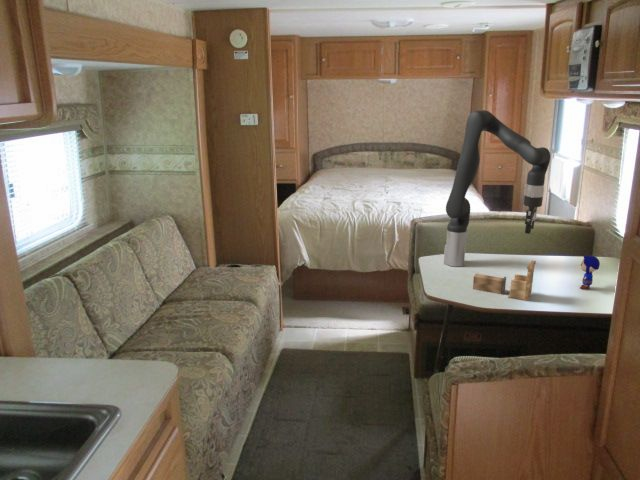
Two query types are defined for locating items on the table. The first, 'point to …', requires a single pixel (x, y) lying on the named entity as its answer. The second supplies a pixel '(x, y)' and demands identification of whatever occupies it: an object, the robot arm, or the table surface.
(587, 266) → the toy
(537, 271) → the table surface
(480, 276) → the light brown wooden block
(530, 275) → the wooden chair
